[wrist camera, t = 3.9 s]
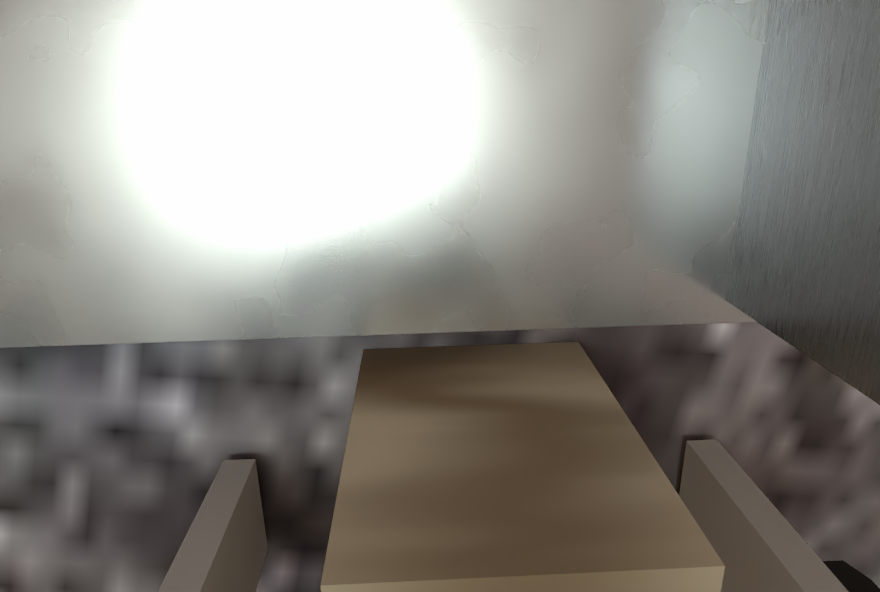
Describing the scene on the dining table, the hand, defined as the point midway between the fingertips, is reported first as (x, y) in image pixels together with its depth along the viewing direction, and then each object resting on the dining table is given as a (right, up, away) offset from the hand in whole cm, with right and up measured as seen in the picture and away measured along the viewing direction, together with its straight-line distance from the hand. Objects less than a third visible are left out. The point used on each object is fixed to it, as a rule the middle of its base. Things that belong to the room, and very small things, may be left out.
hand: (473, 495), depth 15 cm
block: (0, 0, 0) cm, 0 cm away
